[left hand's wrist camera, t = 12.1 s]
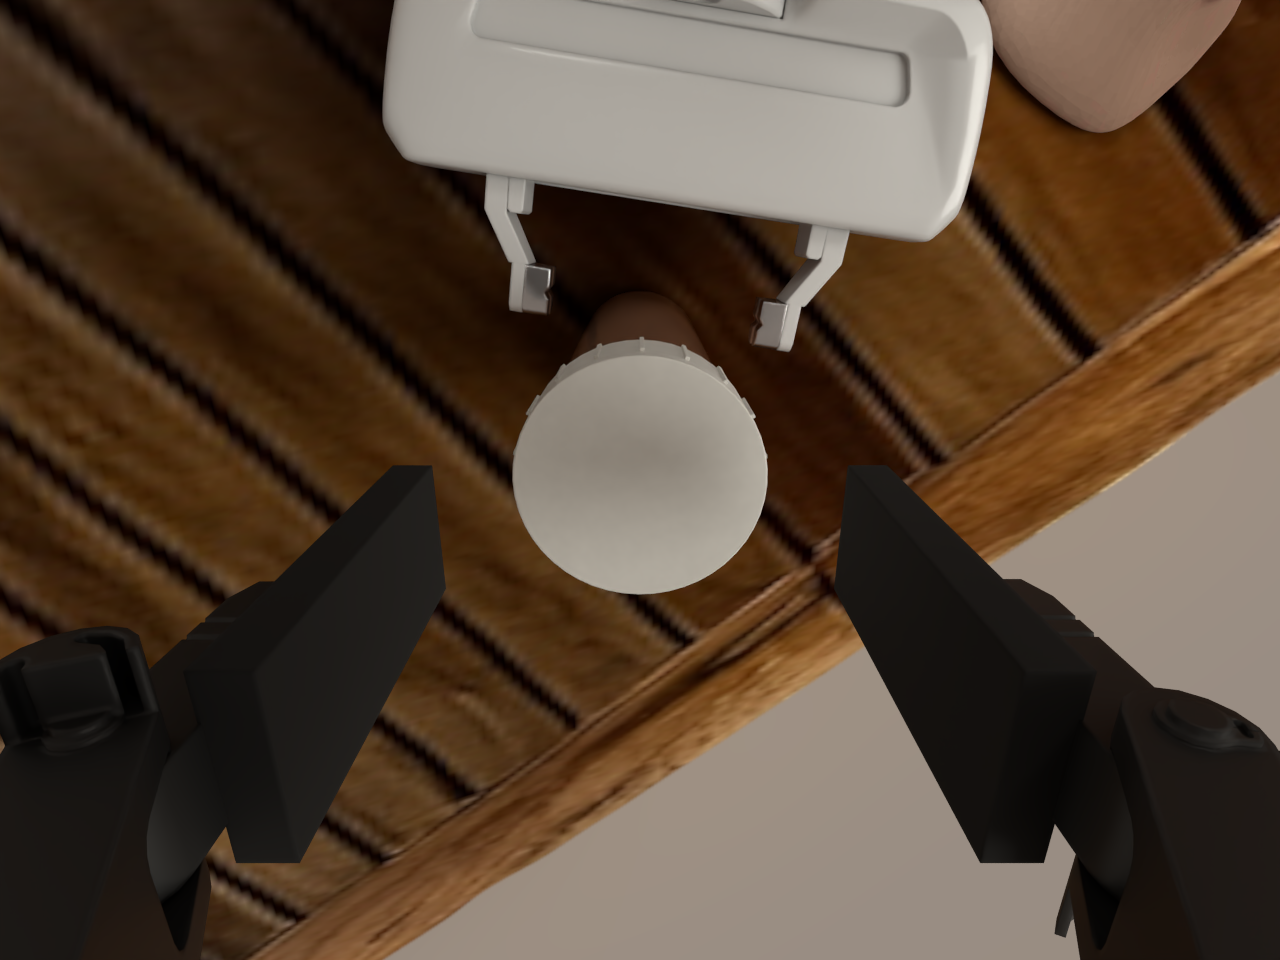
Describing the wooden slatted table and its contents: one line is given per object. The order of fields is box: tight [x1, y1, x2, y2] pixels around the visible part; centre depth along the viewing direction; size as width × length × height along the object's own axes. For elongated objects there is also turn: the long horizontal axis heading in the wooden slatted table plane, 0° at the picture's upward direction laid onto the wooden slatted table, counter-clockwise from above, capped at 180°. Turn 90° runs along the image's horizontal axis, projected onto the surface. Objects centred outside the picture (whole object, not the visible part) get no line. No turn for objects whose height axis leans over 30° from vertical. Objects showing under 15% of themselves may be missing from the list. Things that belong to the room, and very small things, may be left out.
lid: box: [513, 337, 767, 594], centre depth 17 cm, size 6×6×2 cm
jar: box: [568, 291, 712, 364], centre depth 25 cm, size 6×6×18 cm
